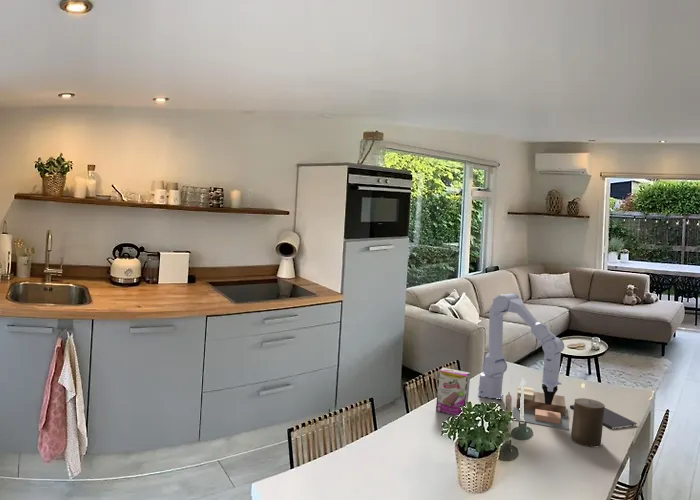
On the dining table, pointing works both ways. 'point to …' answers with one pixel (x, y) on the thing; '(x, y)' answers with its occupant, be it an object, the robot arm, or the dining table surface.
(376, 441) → the dining table surface
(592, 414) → the pillar candle
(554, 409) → the tan flat block
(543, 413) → the peach rectangular block
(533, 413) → the mat
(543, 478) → the dining table surface
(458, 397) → the candy bar box
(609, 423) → the notebook
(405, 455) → the dining table surface
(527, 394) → the cream flat block
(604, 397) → the dining table surface
